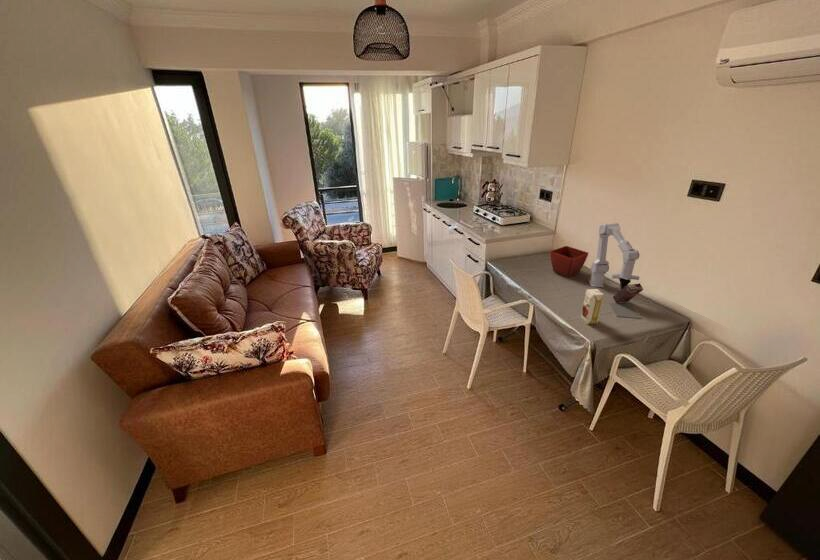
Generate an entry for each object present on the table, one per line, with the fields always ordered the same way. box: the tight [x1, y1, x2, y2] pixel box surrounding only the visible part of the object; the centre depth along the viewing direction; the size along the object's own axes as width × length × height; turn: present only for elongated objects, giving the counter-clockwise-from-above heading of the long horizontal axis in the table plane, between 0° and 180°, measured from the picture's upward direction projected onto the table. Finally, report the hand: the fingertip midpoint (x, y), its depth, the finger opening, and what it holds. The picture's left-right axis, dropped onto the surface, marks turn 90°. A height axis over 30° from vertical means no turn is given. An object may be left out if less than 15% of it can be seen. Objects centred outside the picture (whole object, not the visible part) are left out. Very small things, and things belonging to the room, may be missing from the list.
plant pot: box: [550, 245, 589, 278], centre depth 245 cm, size 19×19×17 cm
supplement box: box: [612, 282, 644, 304], centre depth 200 cm, size 9×5×16 cm
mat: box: [608, 302, 643, 320], centre depth 197 cm, size 16×13×1 cm
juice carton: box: [580, 288, 605, 325], centre depth 185 cm, size 8×9×19 cm
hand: (622, 289), depth 204 cm, fingers closed
